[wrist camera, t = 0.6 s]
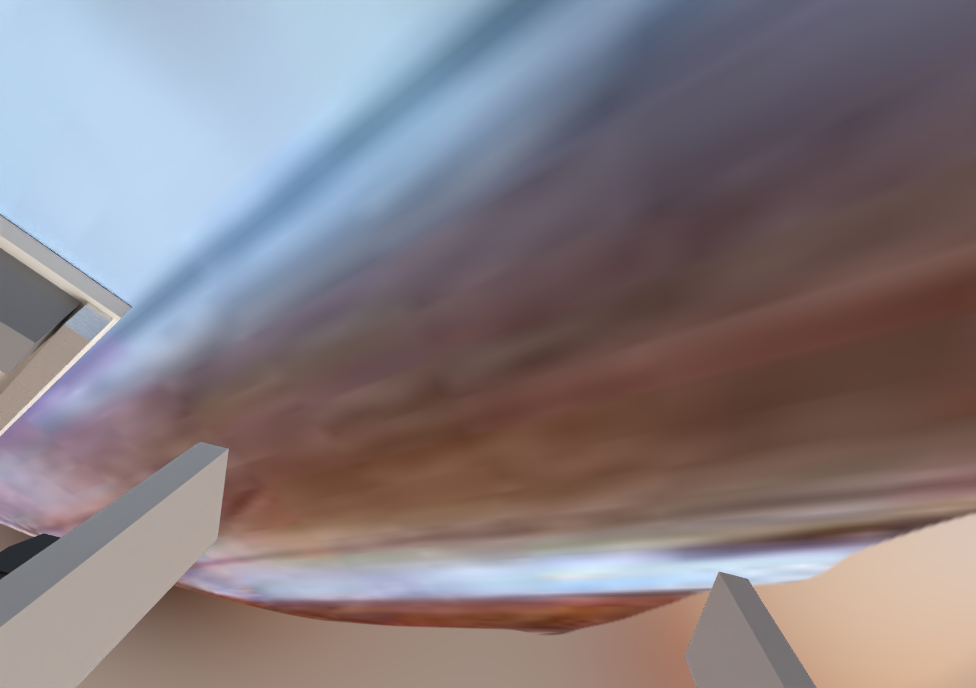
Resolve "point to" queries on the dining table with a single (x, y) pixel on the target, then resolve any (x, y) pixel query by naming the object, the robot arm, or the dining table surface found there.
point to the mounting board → (64, 277)
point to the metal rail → (52, 360)
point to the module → (27, 311)
